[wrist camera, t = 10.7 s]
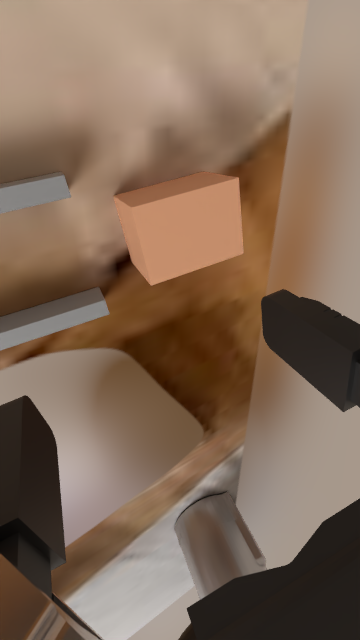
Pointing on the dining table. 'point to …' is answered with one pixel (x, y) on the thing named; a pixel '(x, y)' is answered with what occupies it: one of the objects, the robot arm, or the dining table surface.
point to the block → (182, 224)
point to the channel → (59, 311)
